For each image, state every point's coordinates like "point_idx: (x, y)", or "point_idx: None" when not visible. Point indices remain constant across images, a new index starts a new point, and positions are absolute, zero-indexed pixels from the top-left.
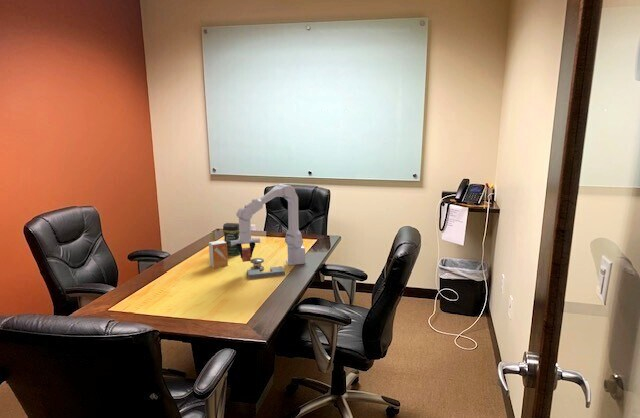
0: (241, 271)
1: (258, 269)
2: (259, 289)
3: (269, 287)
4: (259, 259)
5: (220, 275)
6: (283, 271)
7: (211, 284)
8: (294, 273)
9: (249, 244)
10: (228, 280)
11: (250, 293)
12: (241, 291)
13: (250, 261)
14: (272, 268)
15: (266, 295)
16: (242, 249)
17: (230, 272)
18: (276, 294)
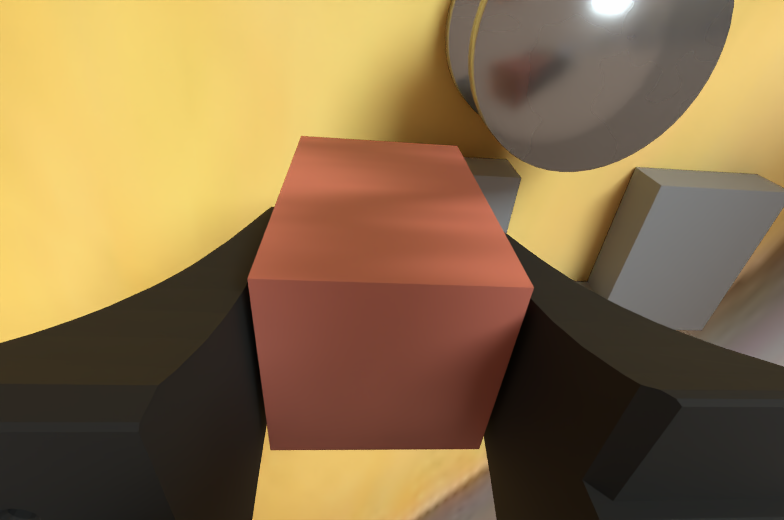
0: (311, 37)
1: (505, 207)
2: (392, 457)
3: (458, 449)
4: (655, 31)
5: (25, 94)
6: (687, 329)
7: (11, 315)
8: (766, 297)
9: (597, 359)
10: (164, 275)
11: (330, 483)
12: (279, 457)
13: (472, 51)
14: (657, 228)
15: (407, 510)
16: (278, 403)
17: (150, 17)
18: (458, 511)
